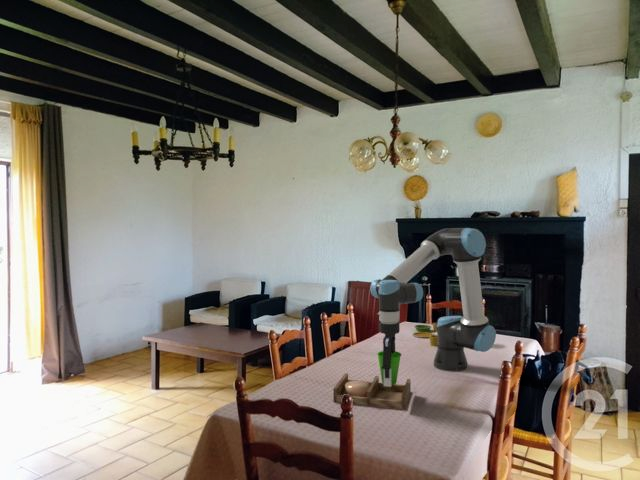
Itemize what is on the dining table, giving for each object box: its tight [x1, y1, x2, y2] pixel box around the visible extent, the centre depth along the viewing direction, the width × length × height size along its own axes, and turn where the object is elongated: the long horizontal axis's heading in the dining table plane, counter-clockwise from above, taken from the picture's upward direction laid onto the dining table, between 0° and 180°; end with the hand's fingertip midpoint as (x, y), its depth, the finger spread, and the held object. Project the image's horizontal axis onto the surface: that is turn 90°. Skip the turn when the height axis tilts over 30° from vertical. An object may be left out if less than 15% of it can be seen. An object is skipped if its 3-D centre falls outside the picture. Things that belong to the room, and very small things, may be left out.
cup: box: [376, 350, 402, 385], centre depth 174 cm, size 9×9×11 cm
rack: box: [332, 373, 411, 411], centre depth 177 cm, size 26×18×6 cm
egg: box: [345, 380, 369, 397], centre depth 178 cm, size 9×9×4 cm
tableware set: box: [412, 322, 438, 347], centre depth 271 cm, size 41×28×6 cm
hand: (389, 381), depth 175 cm, fingers closed on cup, 9 cm apart
